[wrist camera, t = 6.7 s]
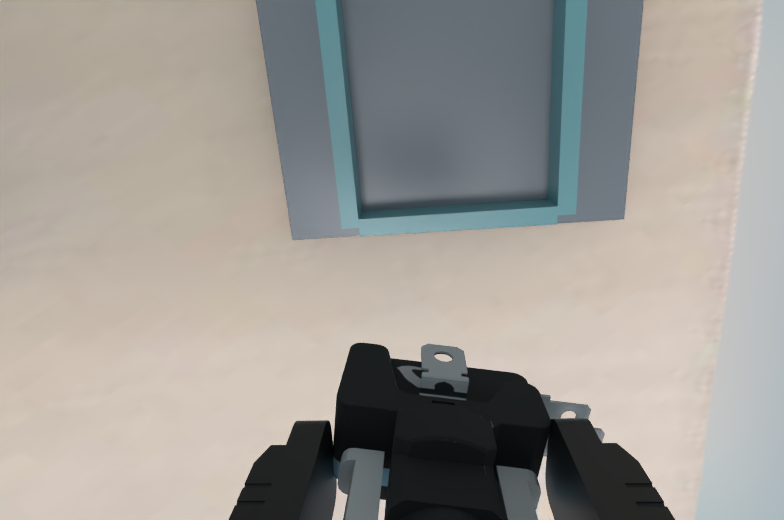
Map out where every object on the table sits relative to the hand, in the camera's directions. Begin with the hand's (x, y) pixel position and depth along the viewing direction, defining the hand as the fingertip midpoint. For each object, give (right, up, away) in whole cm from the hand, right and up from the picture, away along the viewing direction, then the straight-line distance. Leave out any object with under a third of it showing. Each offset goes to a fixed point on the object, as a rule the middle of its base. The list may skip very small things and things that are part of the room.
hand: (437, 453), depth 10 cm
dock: (+2, +14, +16) cm, 21 cm away
